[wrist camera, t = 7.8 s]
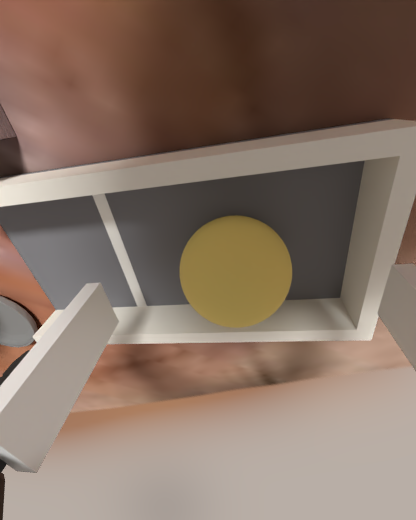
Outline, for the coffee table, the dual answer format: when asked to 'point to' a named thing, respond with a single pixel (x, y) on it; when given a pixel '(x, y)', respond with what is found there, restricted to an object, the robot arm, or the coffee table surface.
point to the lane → (216, 206)
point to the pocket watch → (15, 324)
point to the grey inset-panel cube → (5, 126)
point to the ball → (235, 271)
